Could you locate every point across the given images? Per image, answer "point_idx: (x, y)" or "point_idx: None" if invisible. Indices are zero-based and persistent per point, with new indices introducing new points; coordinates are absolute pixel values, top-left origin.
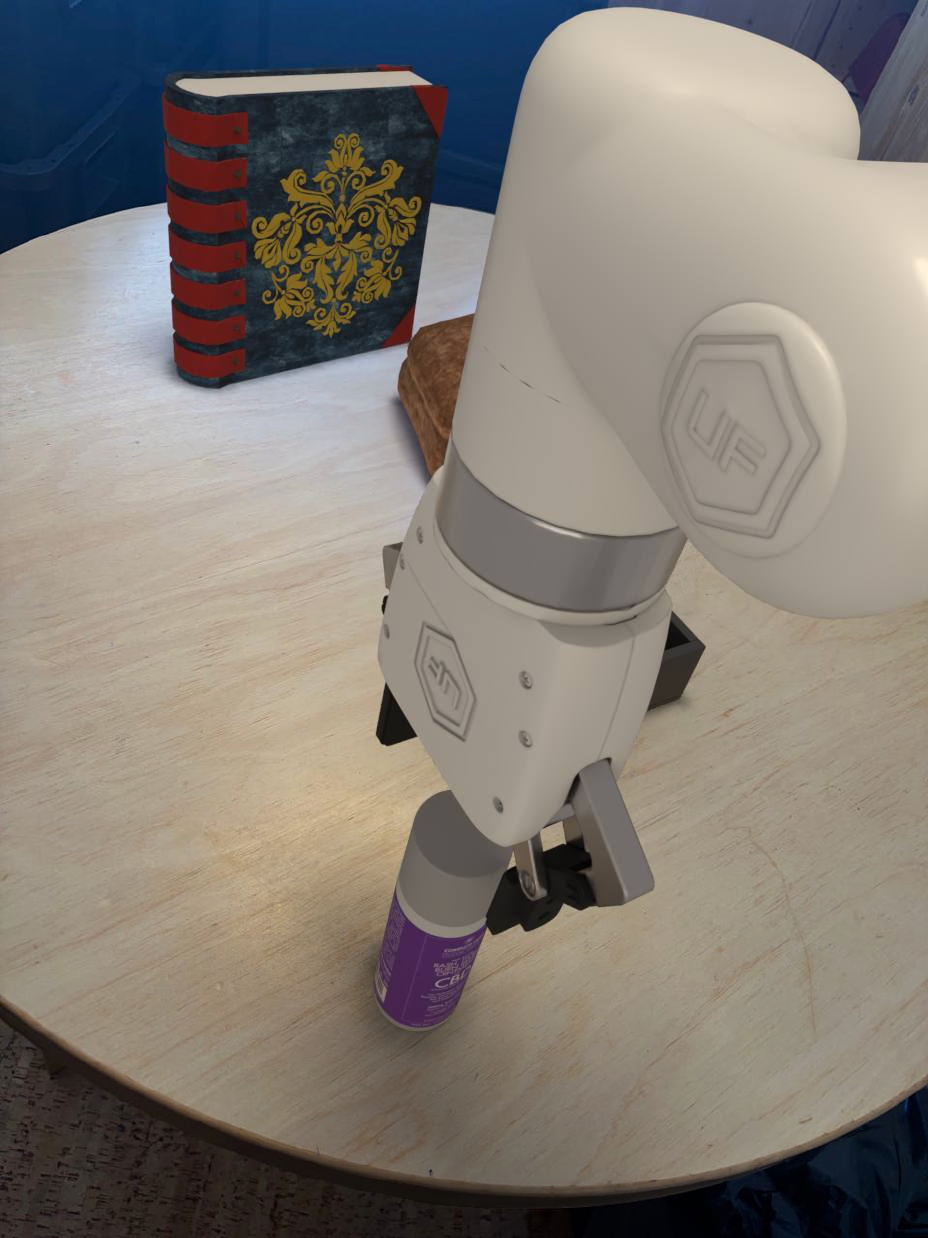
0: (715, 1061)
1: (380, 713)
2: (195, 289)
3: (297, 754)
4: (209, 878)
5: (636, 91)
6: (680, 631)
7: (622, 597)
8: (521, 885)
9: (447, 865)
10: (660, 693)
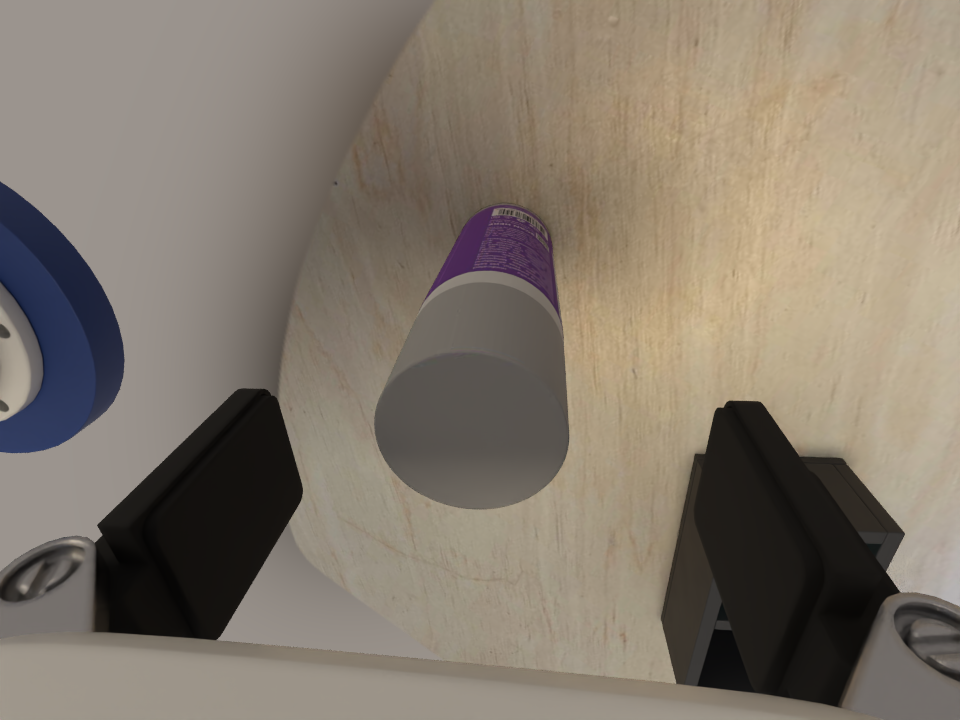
0: (346, 449)
1: (795, 457)
2: None
3: (867, 248)
4: (765, 57)
5: None
6: None
7: None
8: (86, 544)
9: (414, 381)
10: (671, 617)
